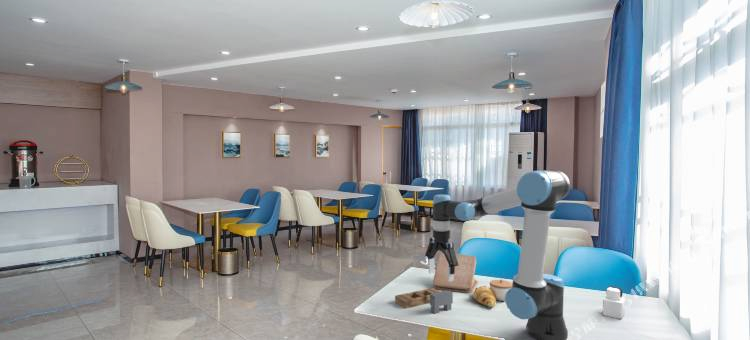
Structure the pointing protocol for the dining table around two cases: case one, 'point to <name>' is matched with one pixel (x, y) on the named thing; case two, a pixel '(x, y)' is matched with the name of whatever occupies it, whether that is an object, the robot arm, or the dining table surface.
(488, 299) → the croissant
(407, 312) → the dining table surface
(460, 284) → the case
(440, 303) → the grey bridge block
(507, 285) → the lidded jar
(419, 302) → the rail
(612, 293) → the medicine bottle
